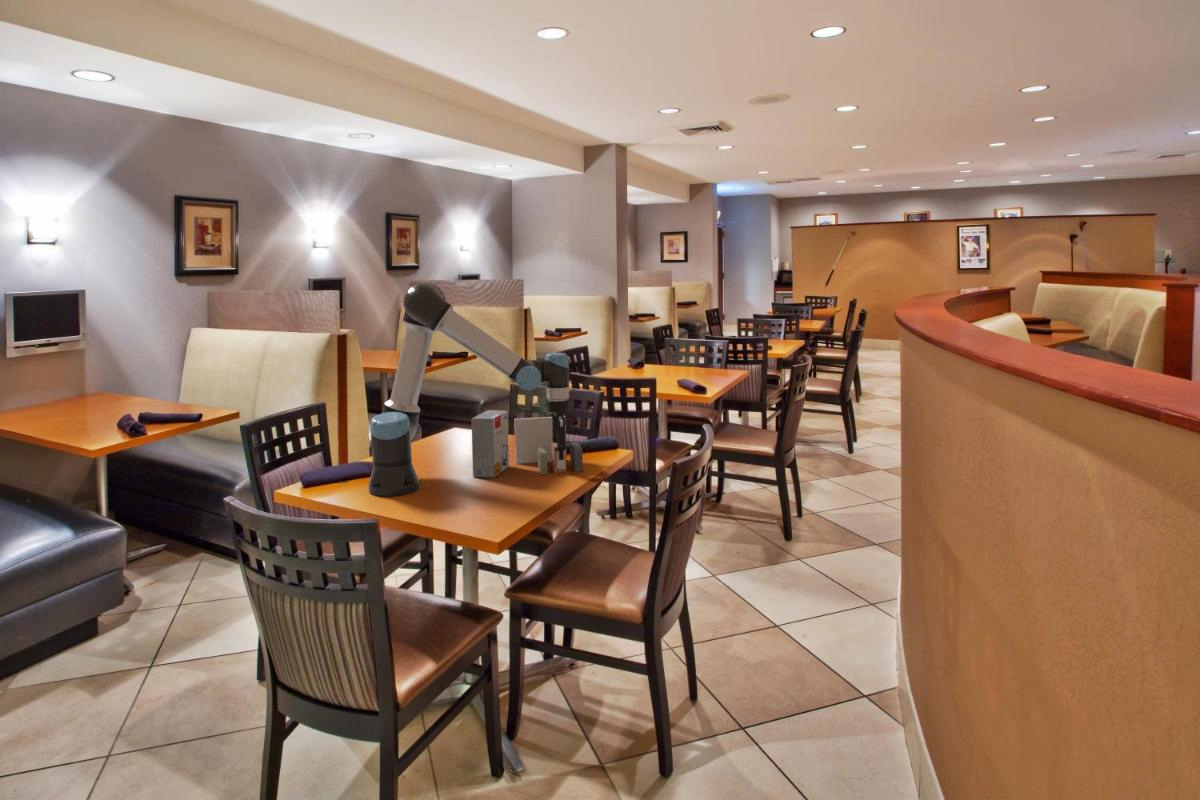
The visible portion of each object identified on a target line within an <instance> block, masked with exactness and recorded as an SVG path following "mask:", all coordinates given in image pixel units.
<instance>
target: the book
mask: <svg viewBox="0 0 1200 800" xmlns="http://www.w3.org/2000/svg"><path fill="white" fill-rule="evenodd" d="M555 449H557V443H551V455H552V461H551V469H552V471H553V473H558V474H559V473H567V449H566V450H565V469H557V451H555Z"/></svg>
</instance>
